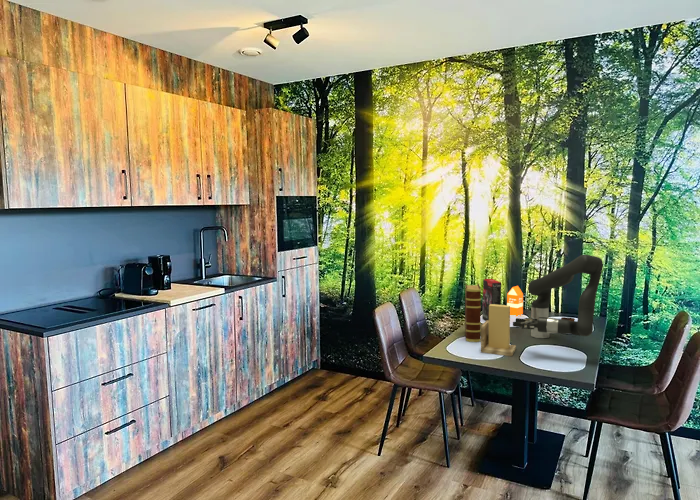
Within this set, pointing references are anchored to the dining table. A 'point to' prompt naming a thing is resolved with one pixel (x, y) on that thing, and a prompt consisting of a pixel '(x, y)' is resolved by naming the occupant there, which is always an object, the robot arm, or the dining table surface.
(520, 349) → the dining table surface
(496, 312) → the book
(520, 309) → the orange juice
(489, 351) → the wooden l-shaped piece
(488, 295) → the graphics card box
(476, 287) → the decorative book
